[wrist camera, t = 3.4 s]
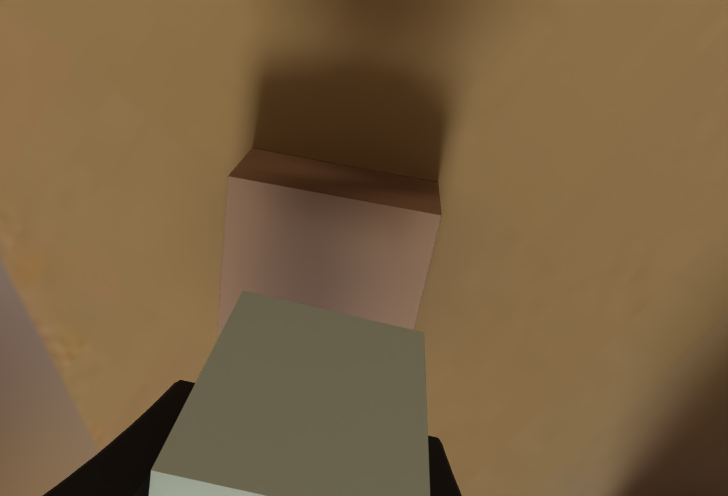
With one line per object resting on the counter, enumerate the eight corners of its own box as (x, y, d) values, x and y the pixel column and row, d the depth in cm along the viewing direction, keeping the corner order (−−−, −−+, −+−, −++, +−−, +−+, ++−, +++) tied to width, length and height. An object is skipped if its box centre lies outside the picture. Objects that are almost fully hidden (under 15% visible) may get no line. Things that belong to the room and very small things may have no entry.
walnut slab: (437, 179, 19) (441, 215, 16) (401, 332, 22) (400, 384, 19) (254, 145, 19) (227, 176, 16) (240, 302, 22) (216, 351, 19)
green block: (424, 332, 13) (431, 532, 8) (380, 464, 15) (367, 687, 10) (242, 290, 13) (150, 470, 8) (220, 428, 14) (135, 639, 10)
